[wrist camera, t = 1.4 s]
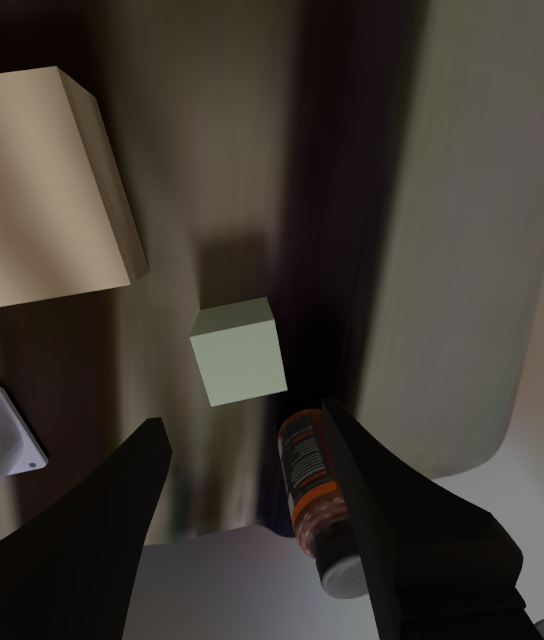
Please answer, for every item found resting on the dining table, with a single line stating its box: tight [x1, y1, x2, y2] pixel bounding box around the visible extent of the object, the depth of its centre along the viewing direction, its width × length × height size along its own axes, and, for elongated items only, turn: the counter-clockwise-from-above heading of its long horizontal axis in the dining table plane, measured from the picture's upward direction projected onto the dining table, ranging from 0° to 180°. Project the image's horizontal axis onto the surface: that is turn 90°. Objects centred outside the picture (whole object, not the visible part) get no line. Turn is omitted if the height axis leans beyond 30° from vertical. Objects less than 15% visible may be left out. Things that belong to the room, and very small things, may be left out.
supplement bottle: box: [278, 409, 369, 599], centre depth 21 cm, size 6×6×11 cm
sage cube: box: [190, 297, 287, 407], centre depth 20 cm, size 5×5×5 cm
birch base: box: [0, 66, 150, 307], centre depth 16 cm, size 10×10×4 cm
